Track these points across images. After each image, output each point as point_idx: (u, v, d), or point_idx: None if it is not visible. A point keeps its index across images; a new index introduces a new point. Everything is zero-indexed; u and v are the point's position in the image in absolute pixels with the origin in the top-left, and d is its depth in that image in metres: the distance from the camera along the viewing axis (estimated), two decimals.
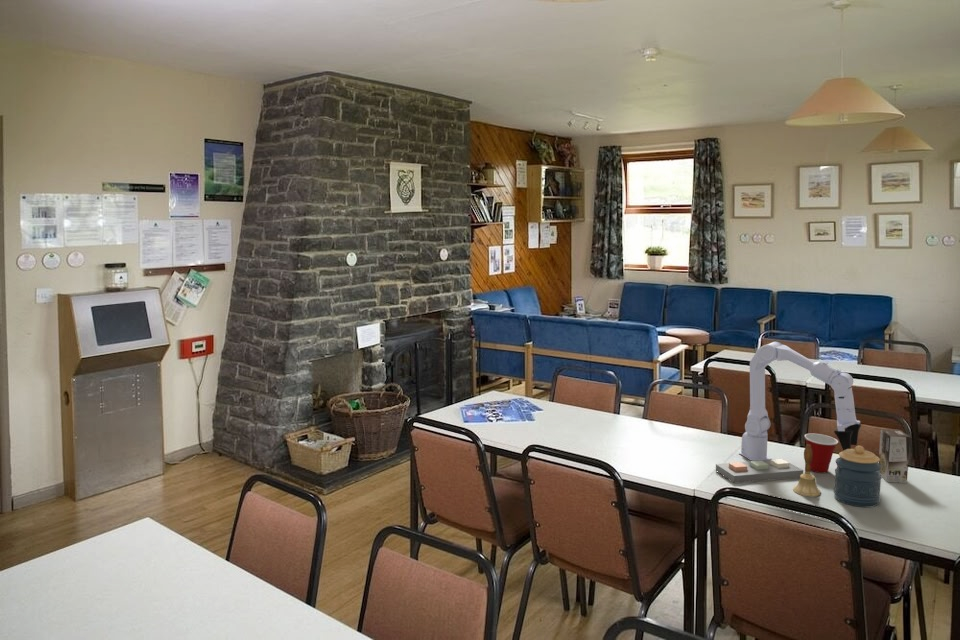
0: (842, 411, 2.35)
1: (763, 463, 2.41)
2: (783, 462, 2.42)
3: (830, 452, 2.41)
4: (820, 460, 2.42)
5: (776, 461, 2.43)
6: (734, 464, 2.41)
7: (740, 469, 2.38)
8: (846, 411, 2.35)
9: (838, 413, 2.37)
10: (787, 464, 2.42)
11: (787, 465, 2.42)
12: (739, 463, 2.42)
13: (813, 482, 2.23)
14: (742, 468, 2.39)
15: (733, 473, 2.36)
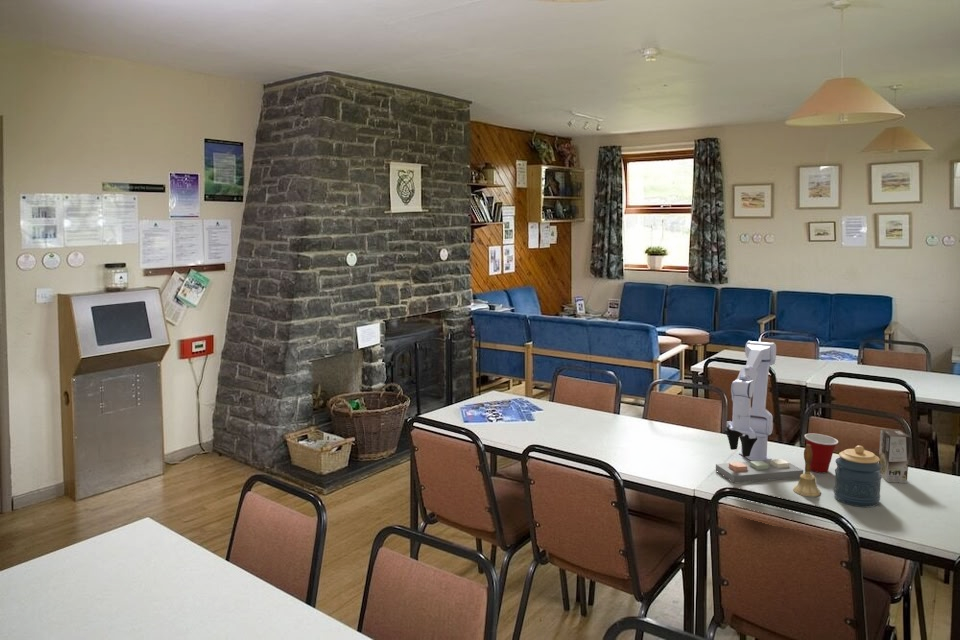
0: None
1: (763, 463, 2.41)
2: (783, 462, 2.42)
3: (830, 452, 2.41)
4: (820, 460, 2.42)
5: (776, 461, 2.43)
6: (734, 464, 2.41)
7: (740, 469, 2.38)
8: None
9: None
10: (787, 464, 2.42)
11: (787, 465, 2.42)
12: (739, 463, 2.42)
13: (813, 482, 2.23)
14: (742, 468, 2.39)
15: (733, 473, 2.36)
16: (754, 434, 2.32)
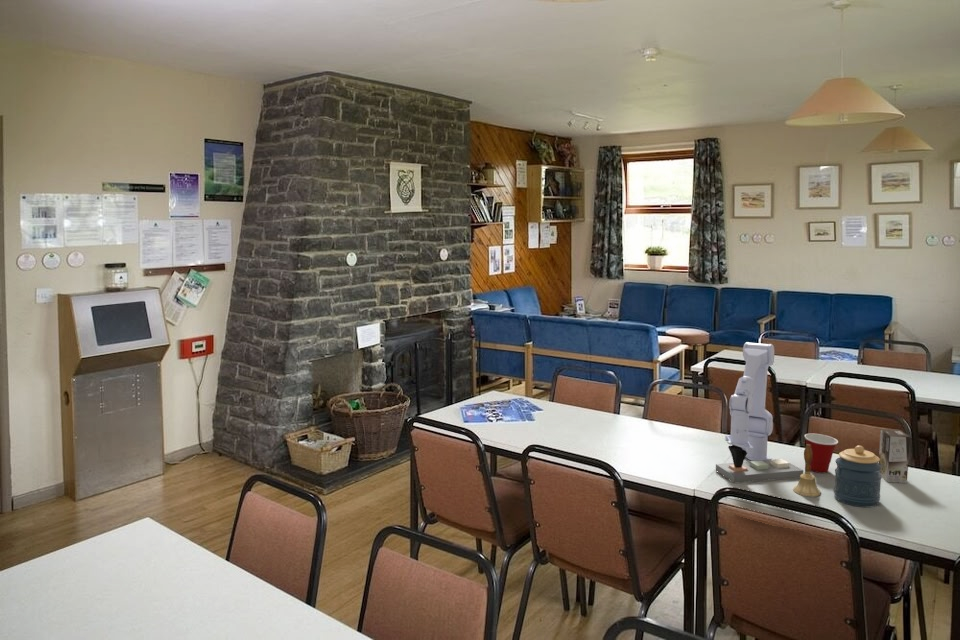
0: None
1: (763, 463, 2.41)
2: (783, 462, 2.42)
3: (830, 452, 2.41)
4: (820, 460, 2.42)
5: (776, 461, 2.43)
6: (734, 466, 2.41)
7: None
8: None
9: None
10: (787, 464, 2.42)
11: (787, 465, 2.42)
12: None
13: (813, 482, 2.23)
14: (742, 470, 2.39)
15: (733, 473, 2.36)
16: (752, 449, 2.33)
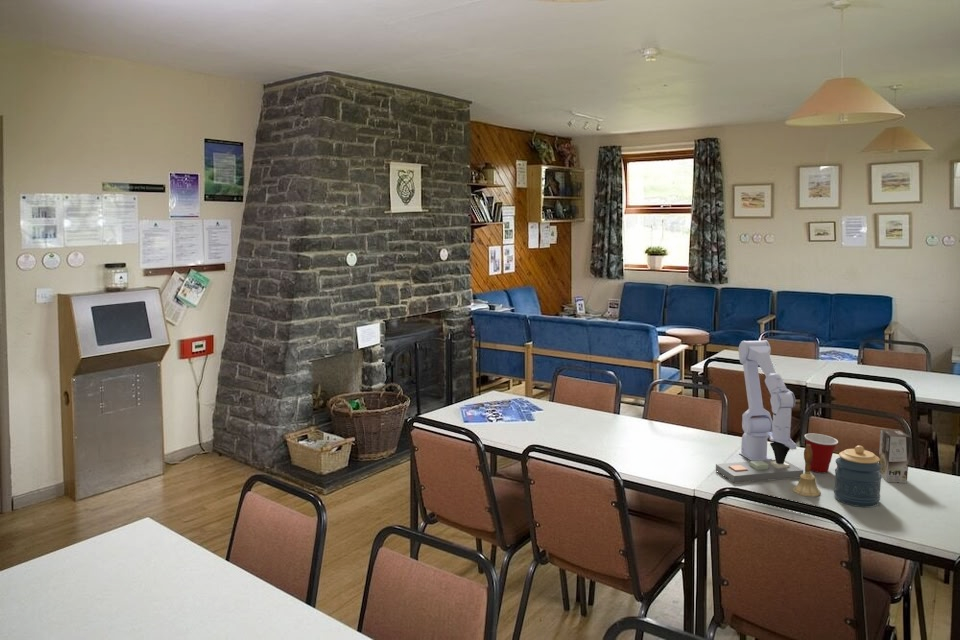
0: None
1: (763, 463, 2.41)
2: (783, 464, 2.42)
3: (830, 452, 2.41)
4: (820, 460, 2.42)
5: (776, 463, 2.43)
6: (734, 467, 2.41)
7: None
8: None
9: None
10: (787, 466, 2.42)
11: (787, 467, 2.42)
12: (739, 466, 2.42)
13: (813, 482, 2.23)
14: None
15: (733, 473, 2.36)
16: (795, 445, 2.35)
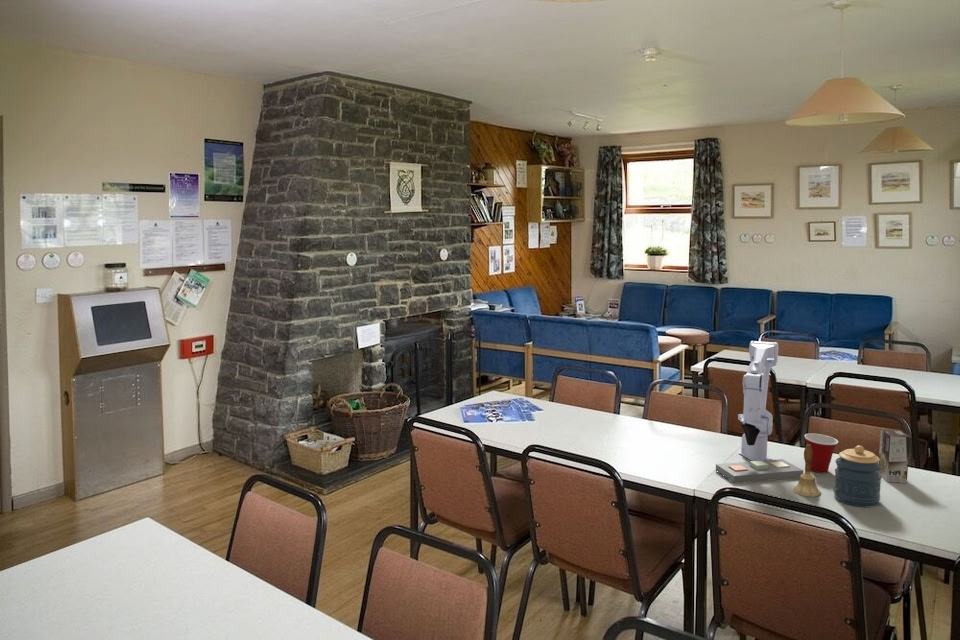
0: None
1: (763, 463, 2.41)
2: (783, 465, 2.42)
3: (830, 452, 2.41)
4: (820, 460, 2.42)
5: (776, 464, 2.43)
6: (734, 467, 2.41)
7: None
8: None
9: None
10: (787, 467, 2.42)
11: None
12: (739, 466, 2.42)
13: (813, 482, 2.23)
14: None
15: (733, 473, 2.36)
16: (765, 426, 2.37)
